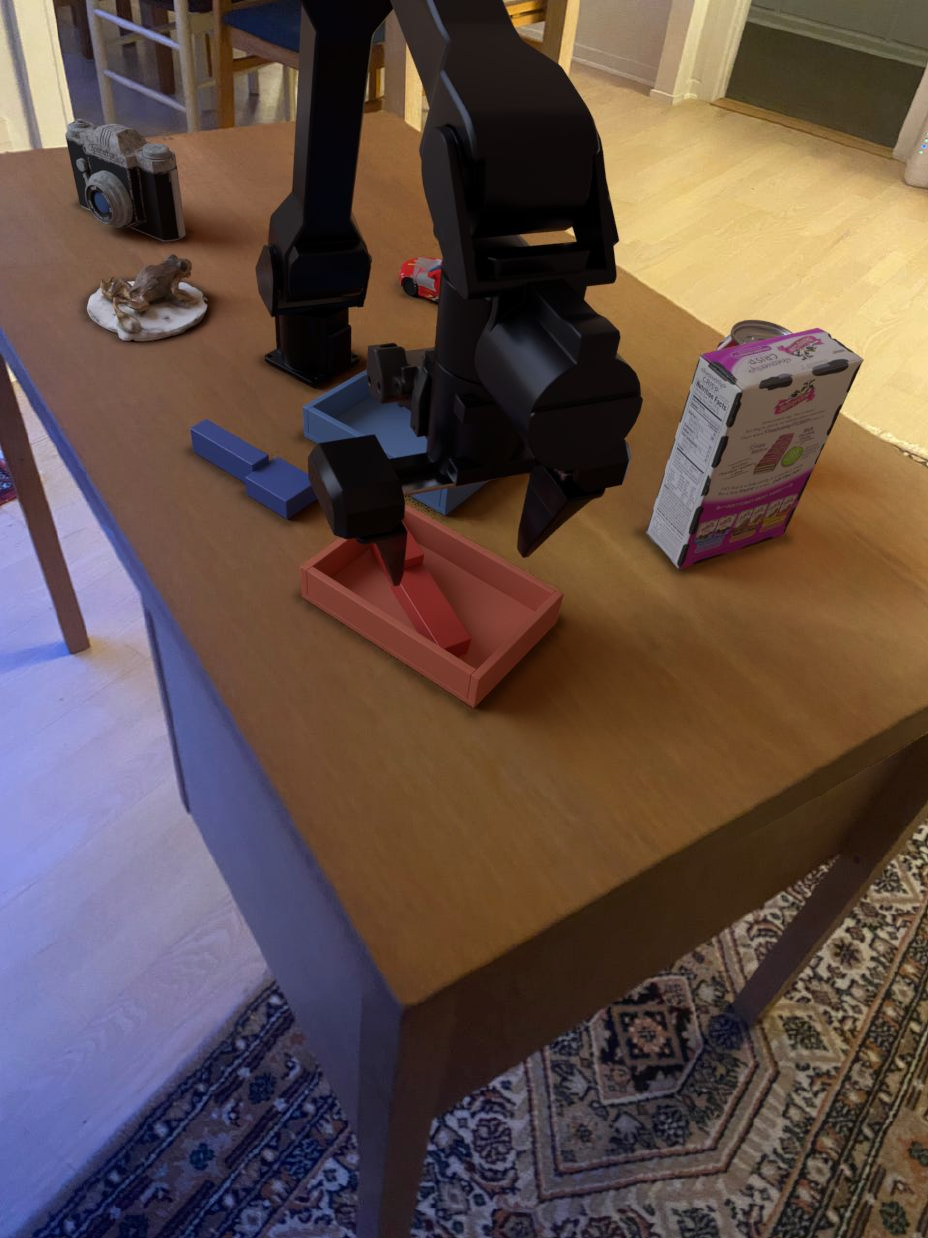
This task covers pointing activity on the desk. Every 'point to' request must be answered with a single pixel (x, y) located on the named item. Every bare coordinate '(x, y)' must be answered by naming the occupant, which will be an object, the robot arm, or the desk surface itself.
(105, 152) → the camera
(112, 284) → the frog figurine
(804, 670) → the desk surface
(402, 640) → the terracotta bin
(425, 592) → the stepped red stick
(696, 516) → the candy bar box
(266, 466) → the blue stepped bar
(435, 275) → the race car
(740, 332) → the soda can
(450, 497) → the blue bin
